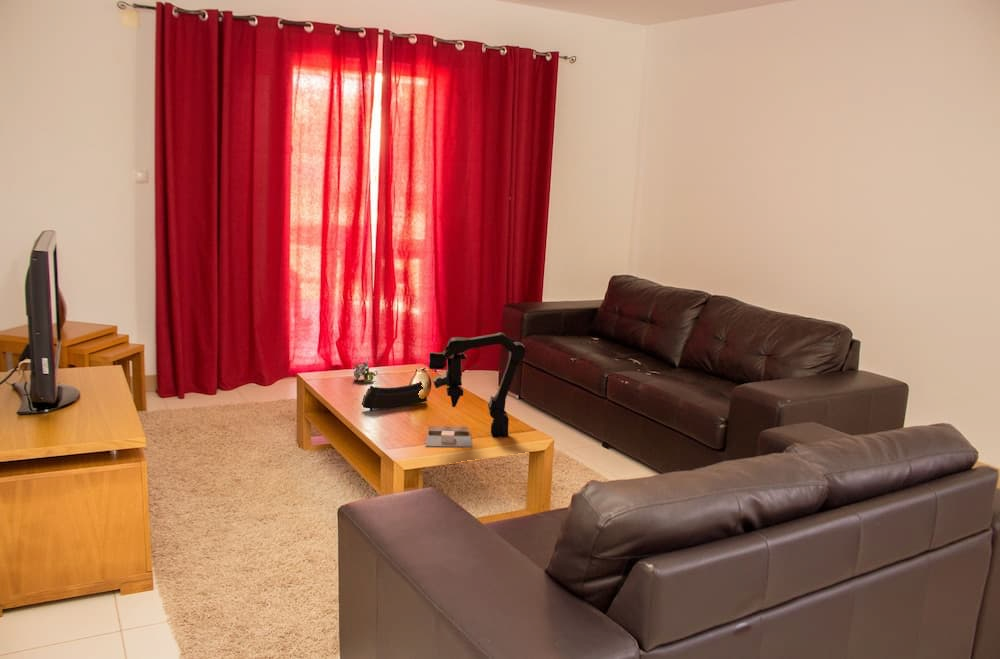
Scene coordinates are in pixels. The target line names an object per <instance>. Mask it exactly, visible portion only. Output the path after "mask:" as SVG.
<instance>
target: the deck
mask: <svg viewBox="0 0 1000 659" xmlns="http://www.w3.org/2000/svg"><path fill="white" fill-rule="evenodd" d="M442 431H455V435H469V426H459V425H458V426H453V425H451V426H448V425H447V426H446V425H444V426H443V425H440V426H439V425H434V426H433V425H429V426H428V435H441V433H442Z"/></svg>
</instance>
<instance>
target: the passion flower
mask: <svg viewBox="0 0 1000 659" xmlns="http://www.w3.org/2000/svg"><path fill="white" fill-rule="evenodd" d="M368 364H369V360H366V362H365V361H364V362H362V363H360V364H359V362H356V364H355V365H354V366H353V367H352V370H354V371H353V377H354V378H355V379H354V381H355V380H357V381H358V380H359V378H360V377H361V376H362V377H363V380H364V383H365V384H366V383H367V384H368V381H369V382H370V383H371V382H372V381H373V380H374V377H377V376H378V370H375V371H370V367H369V365H368Z"/></svg>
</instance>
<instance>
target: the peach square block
mask: <svg viewBox="0 0 1000 659" xmlns="http://www.w3.org/2000/svg"><path fill="white" fill-rule="evenodd" d="M454 439H455V431H442V433H441V442H447V443H454Z"/></svg>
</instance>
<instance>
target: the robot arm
mask: <svg viewBox="0 0 1000 659" xmlns="http://www.w3.org/2000/svg"><path fill="white" fill-rule="evenodd" d="M495 345H501V346H503V348H504V349H506V350H507V351H508V360H507V364H506V367H505V369H504V372H503V376H502V378H501V381H500V384H499V387H498V388H497V392H496V394H495V396H492V395H491V396H490V400H489V402H488V404H487V407H488V412H489V415H490V418H492V422H491V423H490V434H491V436H492V438H509V421H510V418H509V416H508V412H507V411H506V410H505V408H506V399H507V397H508V393H509V391H510V388H511V385H512V382H513V380H514V377H515V374H516V372H517V368H518V367H519V365H520V364H522V361H523V360H524V358H525V357H526V354H527V351H526V350H527V349H526V347H525V345H524V344H523V343H522V342H520V341H515V340H514V339H513V338H510V337H509V336H508V335H506V334H505V333H504V332H500V331H499V332H496V333H492V334H486V335H480V336H474V337H462V336H454V337H450V339H449V340H448V342H447V346H446V347H445V348H444V350H443V351H442V352H433V351H432V352H431V351H430V352H429V359H428V370H444V369H445V368H446V367H447V368H446V371H445V374H442V375H438V376H436V377H433V378H432V382H433V385H434V388H435V389H440V387H443V386H446V388H445V390H446V394H447V395H446V396H449V397H450V401H451V406H452V408H455V407H457V404H458V401H459V400H460V397H463V396H464V389H463V387H462V386H463V382H462V376H463V372H462V371H463V368H462V366H463V360H467V359H468V358H467V355H466V354H465V352H467V351H469V350H471V349H477V348H482V347H487V346H488V347H489V346H495Z"/></svg>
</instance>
